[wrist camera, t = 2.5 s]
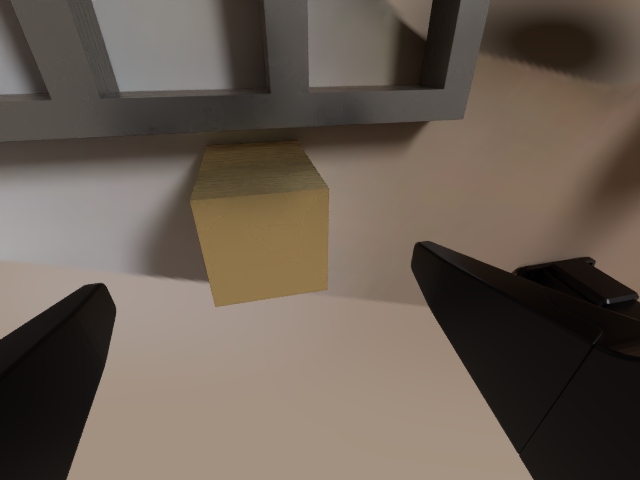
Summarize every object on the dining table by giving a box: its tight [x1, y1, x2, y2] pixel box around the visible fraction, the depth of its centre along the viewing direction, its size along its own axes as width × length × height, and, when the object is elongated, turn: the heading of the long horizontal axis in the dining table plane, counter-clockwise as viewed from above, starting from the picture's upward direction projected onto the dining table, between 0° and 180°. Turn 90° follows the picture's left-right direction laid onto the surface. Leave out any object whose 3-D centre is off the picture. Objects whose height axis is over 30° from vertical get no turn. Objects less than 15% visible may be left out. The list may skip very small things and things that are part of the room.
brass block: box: [190, 140, 329, 307], centre depth 13 cm, size 4×4×6 cm
